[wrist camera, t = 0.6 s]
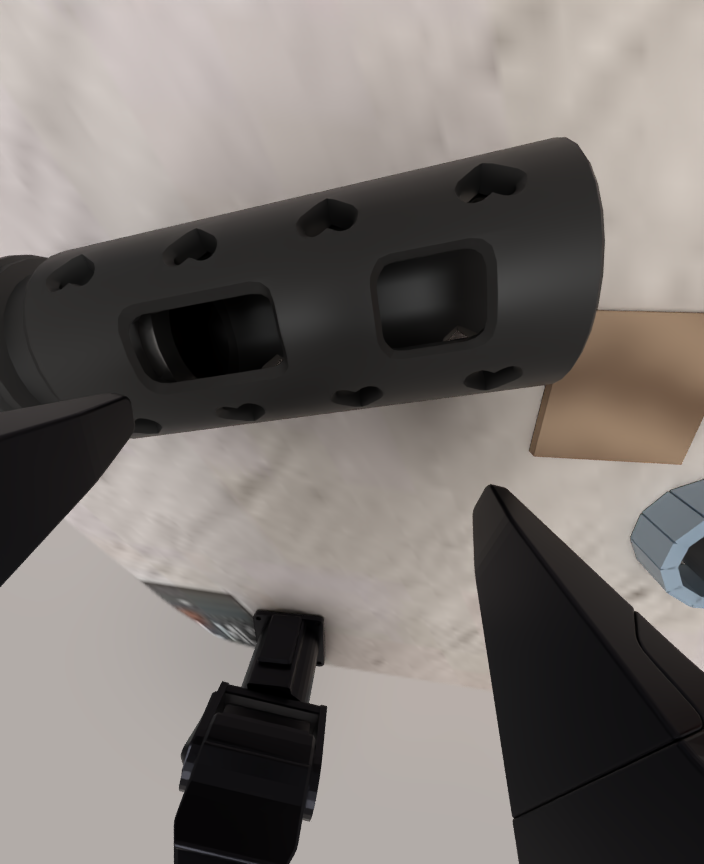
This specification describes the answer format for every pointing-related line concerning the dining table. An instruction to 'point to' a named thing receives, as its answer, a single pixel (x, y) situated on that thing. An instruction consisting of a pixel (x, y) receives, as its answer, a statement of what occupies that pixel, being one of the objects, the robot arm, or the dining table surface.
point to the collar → (672, 541)
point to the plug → (696, 558)
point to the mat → (628, 391)
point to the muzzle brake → (321, 298)
